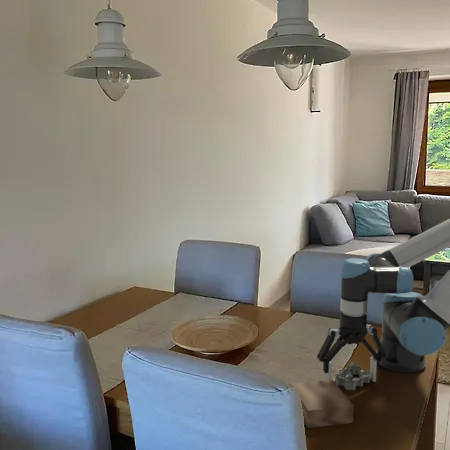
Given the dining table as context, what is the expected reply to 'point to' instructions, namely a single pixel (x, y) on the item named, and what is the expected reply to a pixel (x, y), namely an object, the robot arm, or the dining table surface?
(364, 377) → the egg carton
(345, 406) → the tan flat block
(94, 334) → the dining table surface
